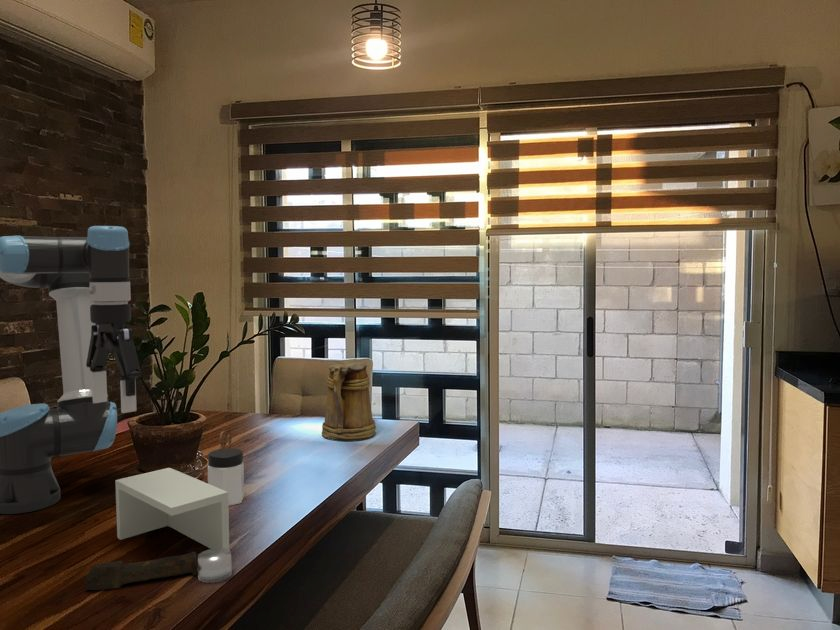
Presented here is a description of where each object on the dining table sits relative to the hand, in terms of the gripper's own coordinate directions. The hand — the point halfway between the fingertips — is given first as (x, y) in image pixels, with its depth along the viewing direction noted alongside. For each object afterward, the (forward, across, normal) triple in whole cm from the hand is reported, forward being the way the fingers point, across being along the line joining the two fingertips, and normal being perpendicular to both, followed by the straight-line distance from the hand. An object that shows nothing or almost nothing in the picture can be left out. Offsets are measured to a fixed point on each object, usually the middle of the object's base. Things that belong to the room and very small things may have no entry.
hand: (114, 407), depth 140 cm
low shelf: (+29, +9, +7) cm, 31 cm away
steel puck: (+29, +28, +6) cm, 40 cm away
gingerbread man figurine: (+29, -25, +40) cm, 55 cm away
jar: (+29, -6, +29) cm, 41 cm away
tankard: (+29, -31, +90) cm, 100 cm away
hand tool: (+29, +20, -4) cm, 36 cm away
